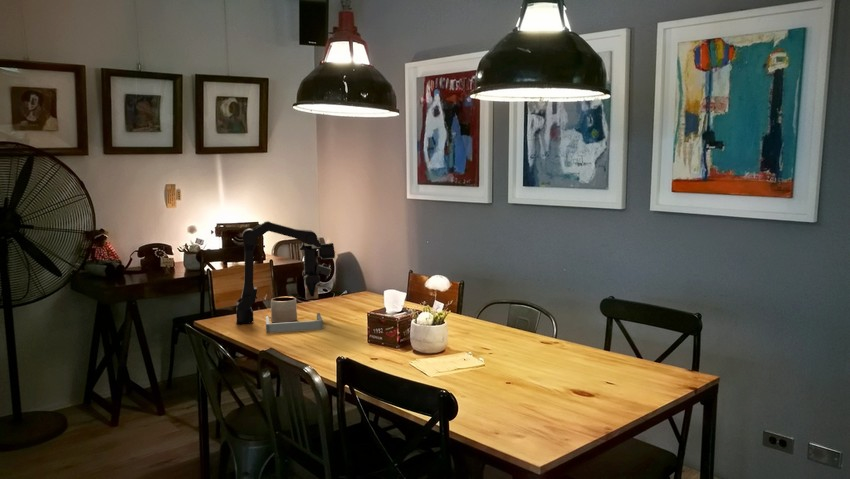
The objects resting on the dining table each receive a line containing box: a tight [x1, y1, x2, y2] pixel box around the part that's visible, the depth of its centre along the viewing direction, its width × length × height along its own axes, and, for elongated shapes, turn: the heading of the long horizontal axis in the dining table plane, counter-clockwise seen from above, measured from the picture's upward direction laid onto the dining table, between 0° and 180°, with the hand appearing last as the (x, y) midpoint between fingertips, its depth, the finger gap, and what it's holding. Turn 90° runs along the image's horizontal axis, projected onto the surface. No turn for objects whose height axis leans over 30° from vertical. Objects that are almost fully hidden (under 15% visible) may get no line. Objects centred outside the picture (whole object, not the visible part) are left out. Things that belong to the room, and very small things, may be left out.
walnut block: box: [304, 284, 319, 300], centre depth 294 cm, size 5×5×5 cm
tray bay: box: [265, 312, 324, 334], centre depth 279 cm, size 22×14×4 cm, turn 104°
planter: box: [270, 296, 298, 323], centre depth 289 cm, size 11×11×10 cm
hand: (311, 295), depth 294 cm, fingers closed on walnut block, 5 cm apart
